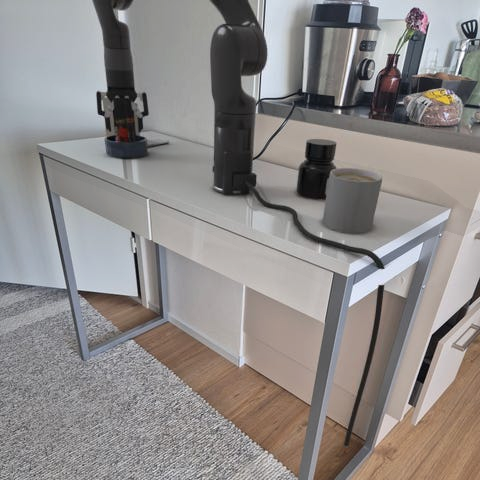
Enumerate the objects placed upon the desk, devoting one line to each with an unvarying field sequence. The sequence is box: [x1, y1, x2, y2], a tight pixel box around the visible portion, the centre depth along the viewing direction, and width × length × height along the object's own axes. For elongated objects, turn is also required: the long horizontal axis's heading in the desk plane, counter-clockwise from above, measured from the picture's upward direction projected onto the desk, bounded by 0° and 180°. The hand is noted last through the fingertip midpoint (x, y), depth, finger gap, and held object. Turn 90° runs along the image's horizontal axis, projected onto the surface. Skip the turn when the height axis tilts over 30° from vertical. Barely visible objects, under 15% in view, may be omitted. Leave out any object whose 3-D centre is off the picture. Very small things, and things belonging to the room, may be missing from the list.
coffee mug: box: [321, 167, 383, 234], centre depth 87 cm, size 13×10×10 cm
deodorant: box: [112, 98, 136, 142], centre depth 127 cm, size 6×6×15 cm
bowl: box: [104, 135, 149, 159], centre depth 130 cm, size 12×12×4 cm
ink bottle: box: [296, 138, 338, 200], centre depth 102 cm, size 10×9×12 cm
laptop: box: [101, 96, 170, 148], centre depth 143 cm, size 18×12×13 cm
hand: (125, 131), depth 128 cm, fingers open, 8 cm apart
